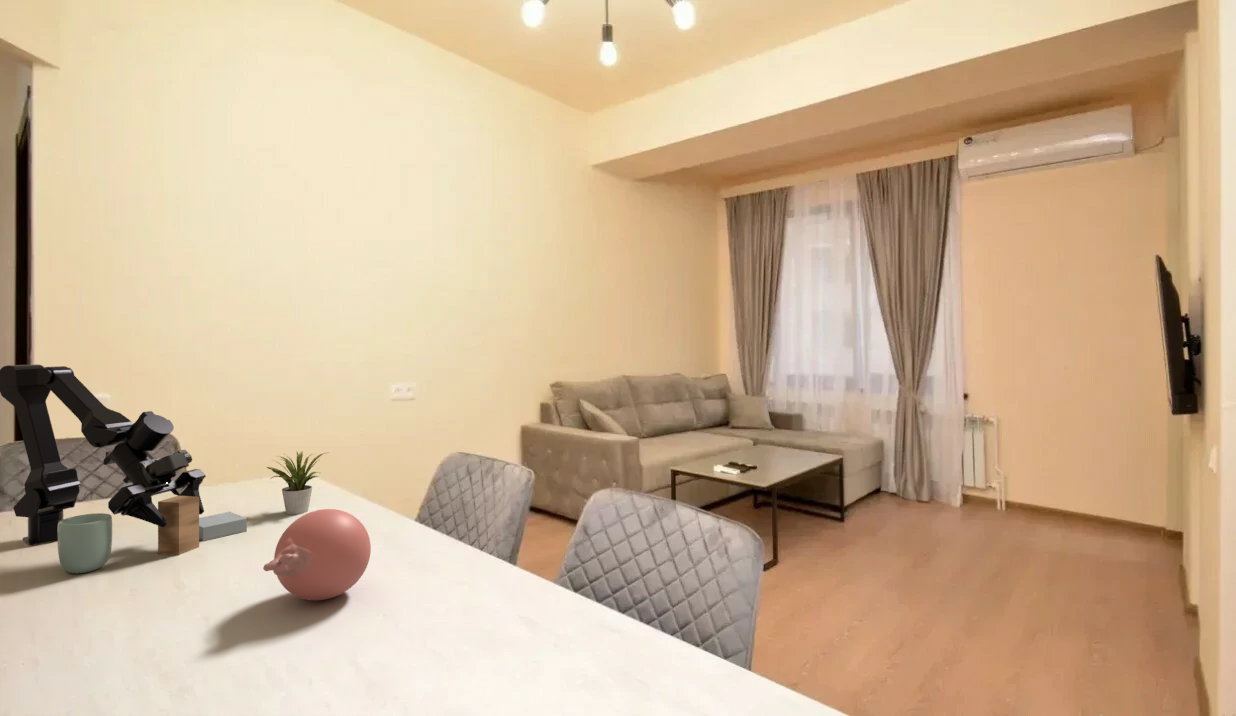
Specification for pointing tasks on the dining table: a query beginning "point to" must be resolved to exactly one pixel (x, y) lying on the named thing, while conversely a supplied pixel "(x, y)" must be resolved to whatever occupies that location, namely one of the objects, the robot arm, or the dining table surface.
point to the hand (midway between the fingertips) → (184, 519)
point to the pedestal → (221, 525)
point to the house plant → (296, 484)
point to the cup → (84, 542)
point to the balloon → (321, 554)
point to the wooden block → (179, 525)
